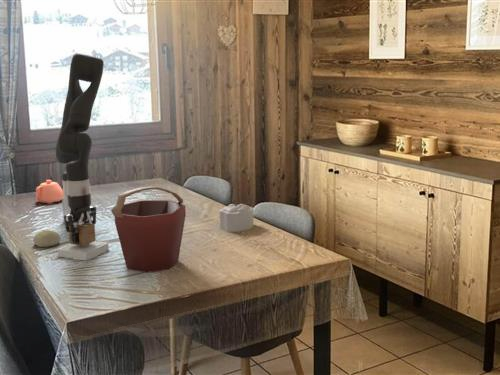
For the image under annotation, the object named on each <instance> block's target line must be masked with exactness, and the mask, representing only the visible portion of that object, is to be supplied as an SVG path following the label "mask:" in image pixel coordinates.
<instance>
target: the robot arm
mask: <svg viewBox="0 0 500 375" xmlns="http://www.w3.org/2000/svg"><path fill="white" fill-rule="evenodd" d="M104 65H105V64H104V60H103V59H102V58H100V57H97V56H93V55H89V54H85V53H80V52H76V53H74V55H73V56H72V58H71V61H70V69H69V76H68V79H69V80H68V88H67V92H66V97H65V103H64V107H63V114H62V119H61V120H62V121H61V128H60V131H59V134H58V138H57V141H56V146H55V158H56V160H57V162H58V163H59V164H63V165H64V164H65V171H64V172H62V174H61V180H62V182H61V183H62V190H63V193H64V197H63V198H62V200H61V203H62V215H63V221H64V225H65V230H66V231H65V232H66V233H69V232H71V233H72V242H73V243H75V244H78V243H79V233H78V230H79V227H80V226H81V223H88V224H94V225H95V224H97V208H96V206H92V197H91V196H92V195H91V194H92V193H91V184H90V179H89V178H90V177H89V160H90V154H91V150H92V146H93V145H92V144H93V143H92V138H91V136H90V135H89V134H88V133H85V132H86V131H88V129H89V128H90V123H91V117H92V111H93V107H94V104H95V100H96V97H97V96H98V92H99V88H100V84H101V81H102V78H103V73H104ZM80 81H81V82H82V81H83V82H87V83H90V84H89V86H88V87H87V88H86V90H84V91H83V88H82V87H81V84H80ZM69 226H70V228H69ZM75 226H76V228H75V229H74V227H75Z"/></svg>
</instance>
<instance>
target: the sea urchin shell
mask: <svg viewBox="0 0 500 375" xmlns="http://www.w3.org/2000/svg"><path fill="white" fill-rule="evenodd" d="M32 239H33V240H32V241H33V242H32V243H33V244H34V245H35V246H37V247H39V248H49V247H54V246H56V245H57V244H59V243H60V241H61V237H60V235H59V233H58V232H57V231H54V230H48V229H45V230H41V231H39V232H38V233H36V234H35V235H34V236H33V238H32Z"/></svg>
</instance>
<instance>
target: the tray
mask: <svg viewBox="0 0 500 375" xmlns="http://www.w3.org/2000/svg"><path fill="white" fill-rule="evenodd" d="M109 250H110V248H109V242H103V241H94V242H92V243H90V244H87V245H85V246H82V245H75V244H70V243H69V244H65V245H64V246H62V247H59V248H56V251H57V257H60V258H61V257H62V258H67V259H74V260H79V261H80V260H81V261H89V260H90V259H93V258H94V257H96V256H99V255H102V254H103V253H106V252H107V251H109Z"/></svg>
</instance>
